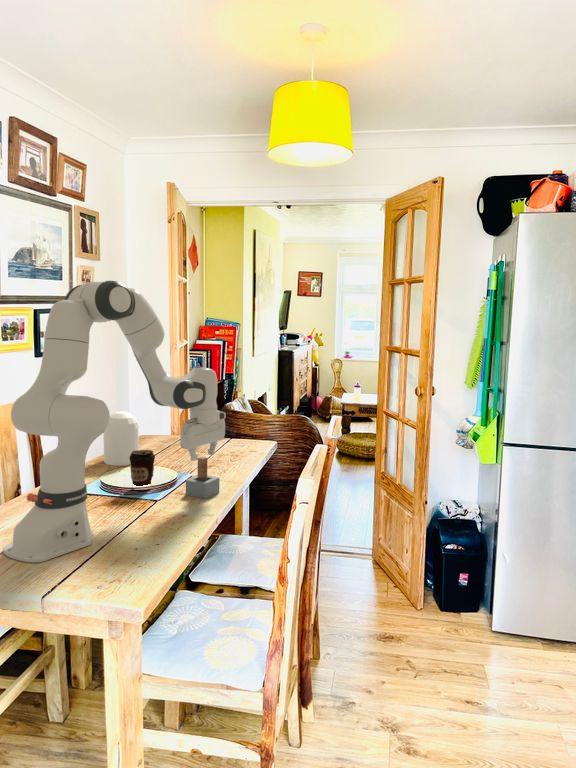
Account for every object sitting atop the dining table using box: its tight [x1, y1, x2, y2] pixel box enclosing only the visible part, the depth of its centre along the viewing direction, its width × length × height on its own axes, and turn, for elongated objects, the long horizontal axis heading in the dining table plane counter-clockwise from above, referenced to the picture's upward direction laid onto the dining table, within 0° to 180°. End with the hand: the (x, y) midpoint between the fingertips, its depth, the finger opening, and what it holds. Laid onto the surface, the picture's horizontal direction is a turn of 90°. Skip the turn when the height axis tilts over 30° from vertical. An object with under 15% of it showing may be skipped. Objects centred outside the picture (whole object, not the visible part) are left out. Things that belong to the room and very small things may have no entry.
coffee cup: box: [130, 449, 156, 486], centre depth 197 cm, size 9×8×13 cm
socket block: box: [185, 474, 220, 499], centre depth 195 cm, size 8×8×5 cm
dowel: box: [197, 456, 208, 482], centre depth 194 cm, size 3×3×12 cm
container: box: [102, 410, 140, 467], centre depth 229 cm, size 14×13×20 cm
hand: (202, 457), depth 192 cm, fingers open, 8 cm apart
